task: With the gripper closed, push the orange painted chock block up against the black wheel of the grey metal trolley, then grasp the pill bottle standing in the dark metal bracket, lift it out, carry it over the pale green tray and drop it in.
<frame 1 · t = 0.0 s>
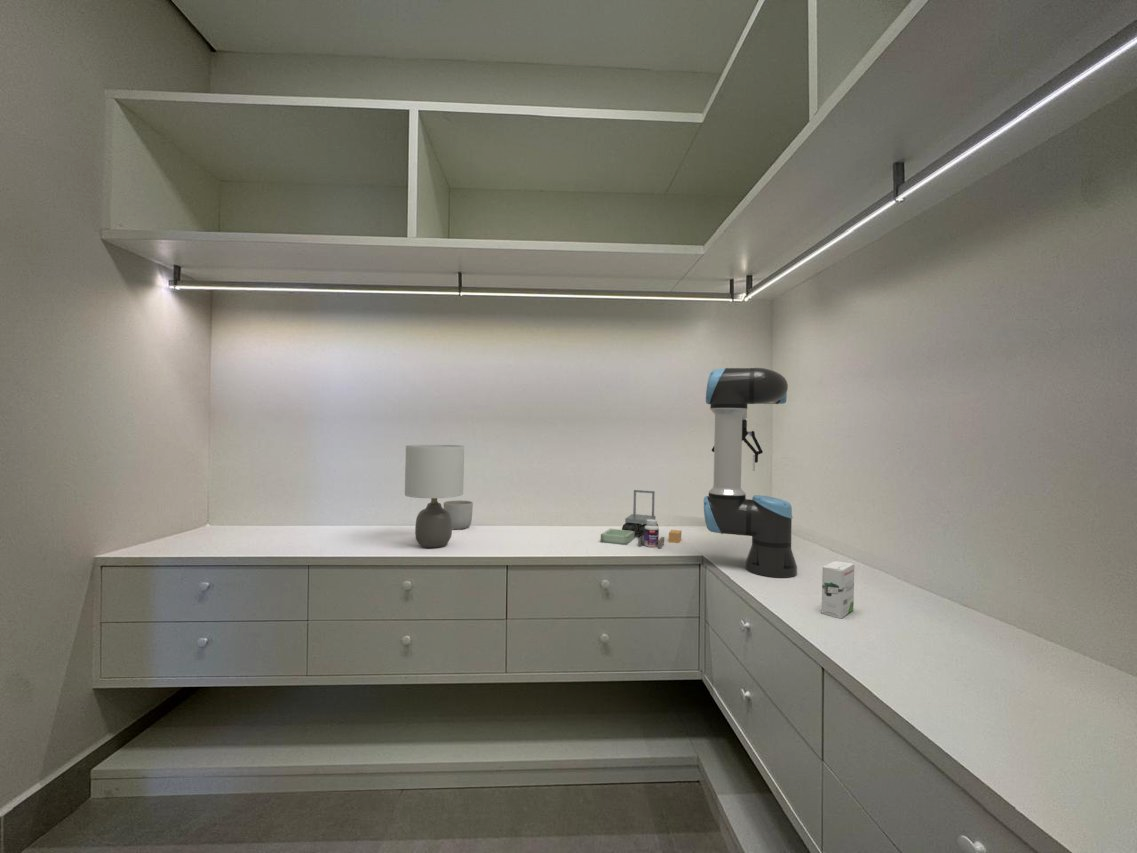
hand: (736, 469, 209), 28 cm above the cabinet, fingers open, 13 cm apart
tray: (617, 540, 198), on the cabinet
ink box: (837, 613, 123), on the cabinet
chock: (675, 541, 199), on the cabinet
lamp: (433, 546, 183), on the cabinet
trolley: (640, 535, 208), on the cabinet
pill bottle: (651, 546, 190), on the cabinet
pin bracket: (651, 545, 190), on the cabinet
planter: (457, 528, 216), on the cabinet
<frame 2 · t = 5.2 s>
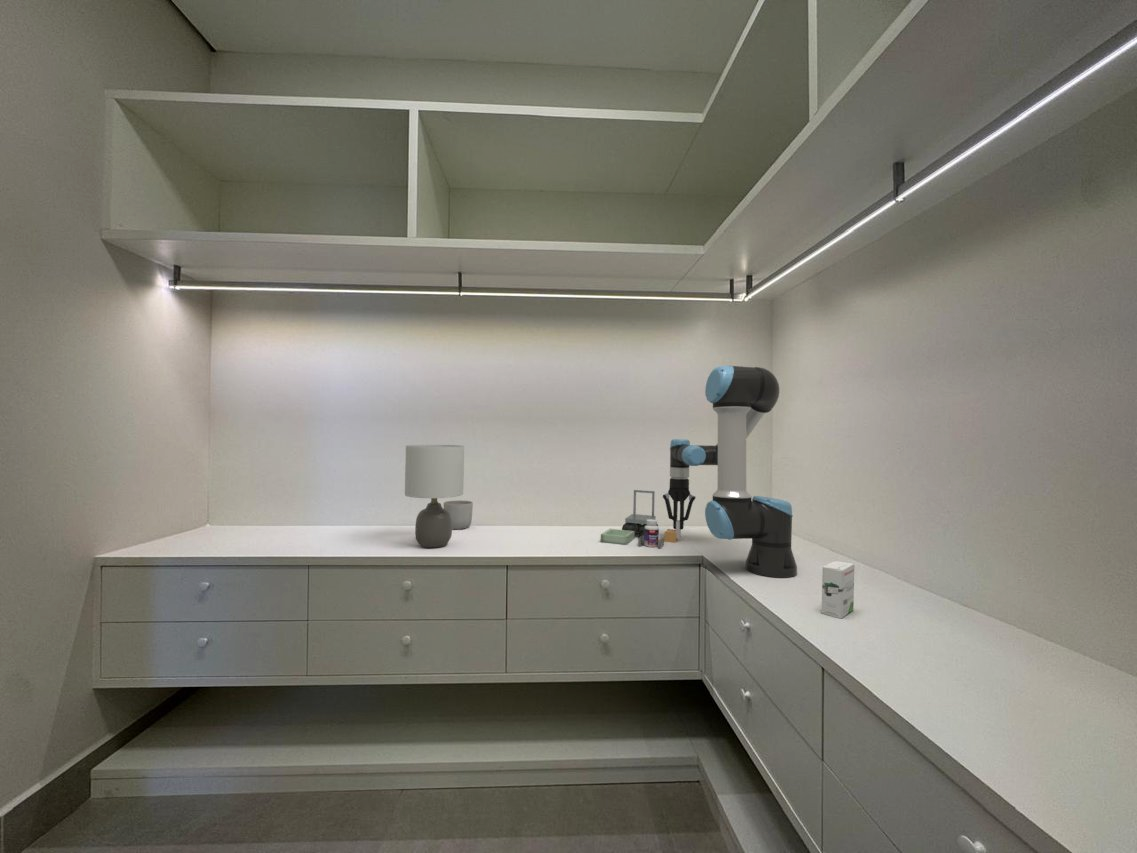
hand: (678, 537, 198), 2 cm above the cabinet, fingers closed
chock: (671, 540, 199), on the cabinet, touching gripper
everything else where it was.
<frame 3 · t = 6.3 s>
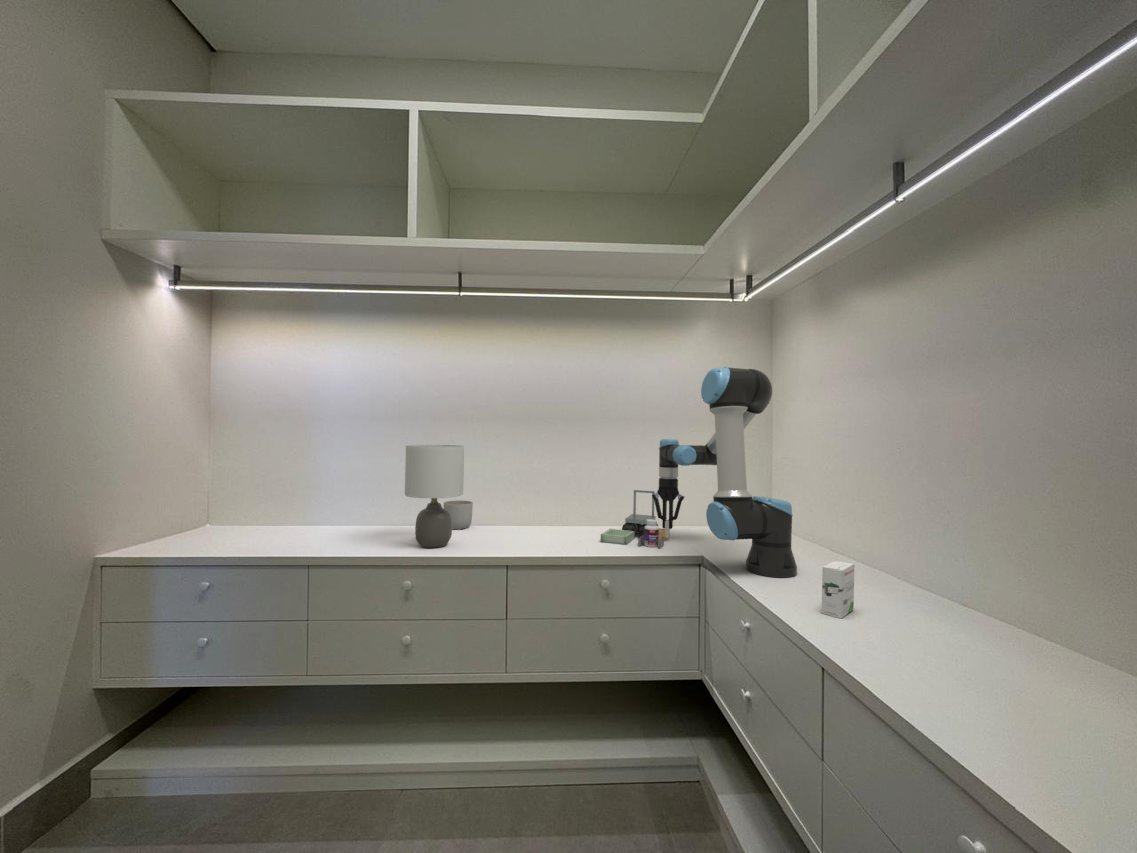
hand: (667, 536, 200), 1 cm above the cabinet, fingers closed
chock: (660, 539, 201), on the cabinet
everything else where it was.
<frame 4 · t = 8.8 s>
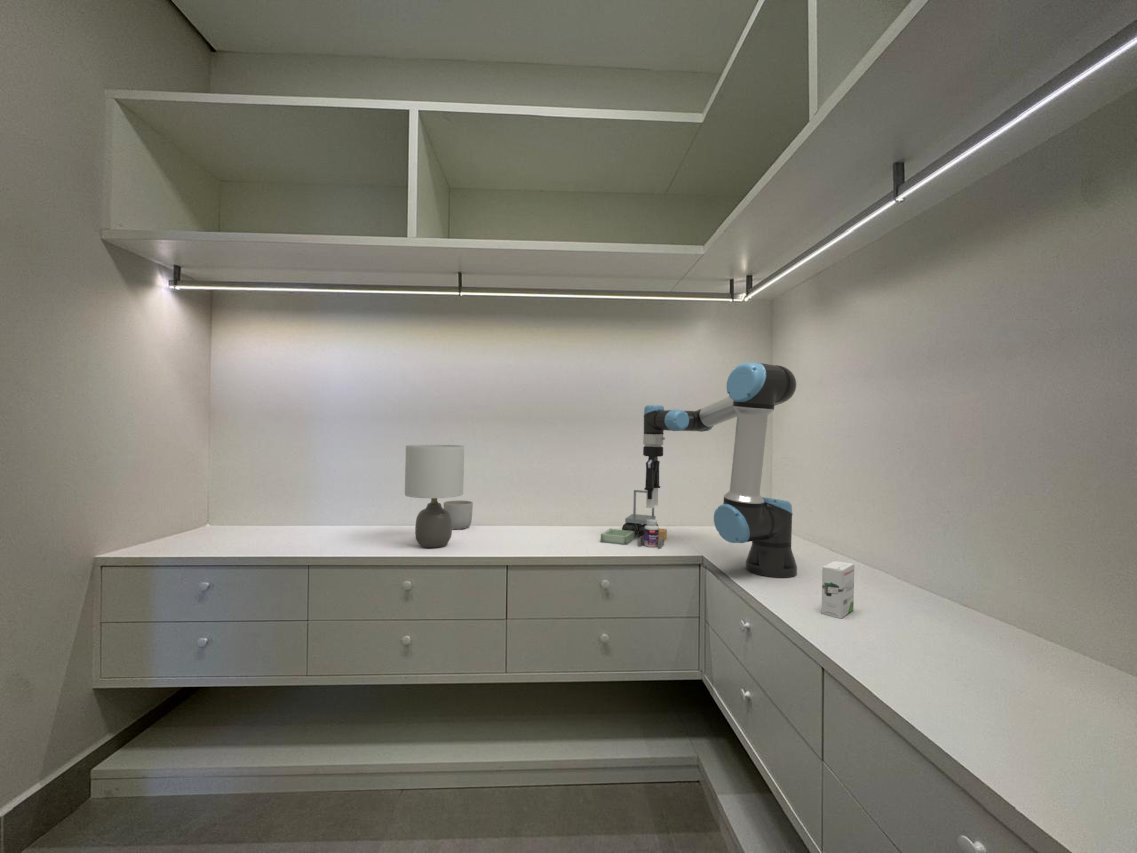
hand: (652, 506, 190), 15 cm above the cabinet, fingers open, 7 cm apart
nothing on the cabinet moved.
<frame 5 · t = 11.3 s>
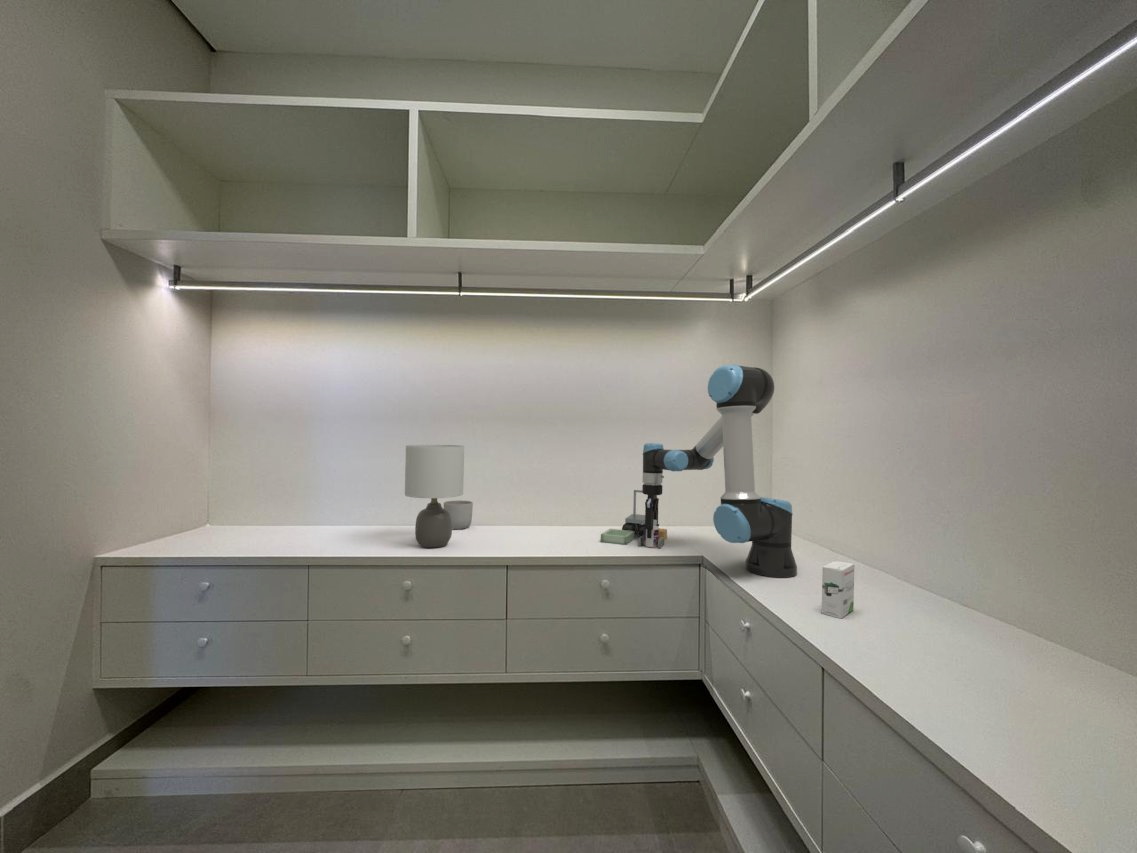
hand: (651, 544, 190), 0 cm above the cabinet, fingers closed on pill bottle, 5 cm apart
pill bottle: (651, 546, 190), on the cabinet, touching gripper
everything else where it was.
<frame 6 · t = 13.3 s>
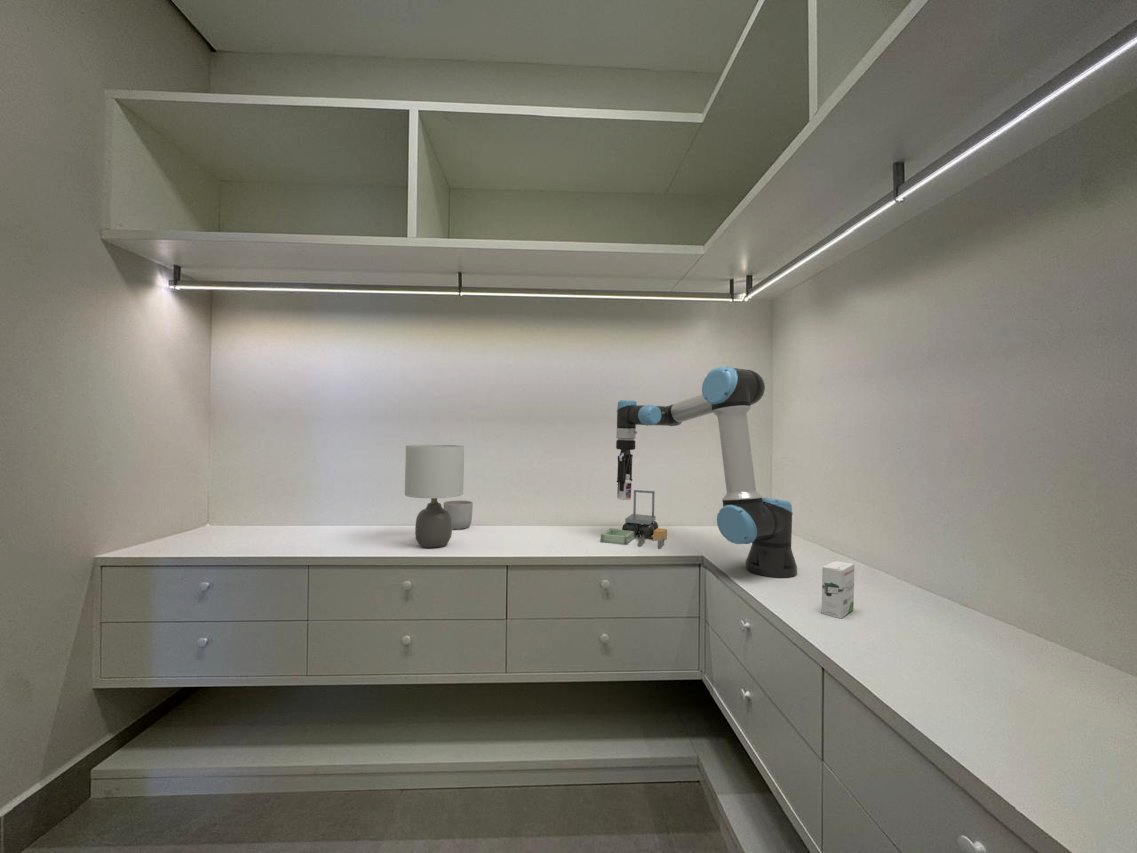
hand: (624, 498, 197), 17 cm above the cabinet, fingers closed on pill bottle, 5 cm apart
pill bottle: (624, 499, 197), point 16 cm above the cabinet, touching gripper
everything else where it was.
when the fingers open (4 cm above the cabinet, at t = 15.6 s): pill bottle drops 3 cm, resting on tray.
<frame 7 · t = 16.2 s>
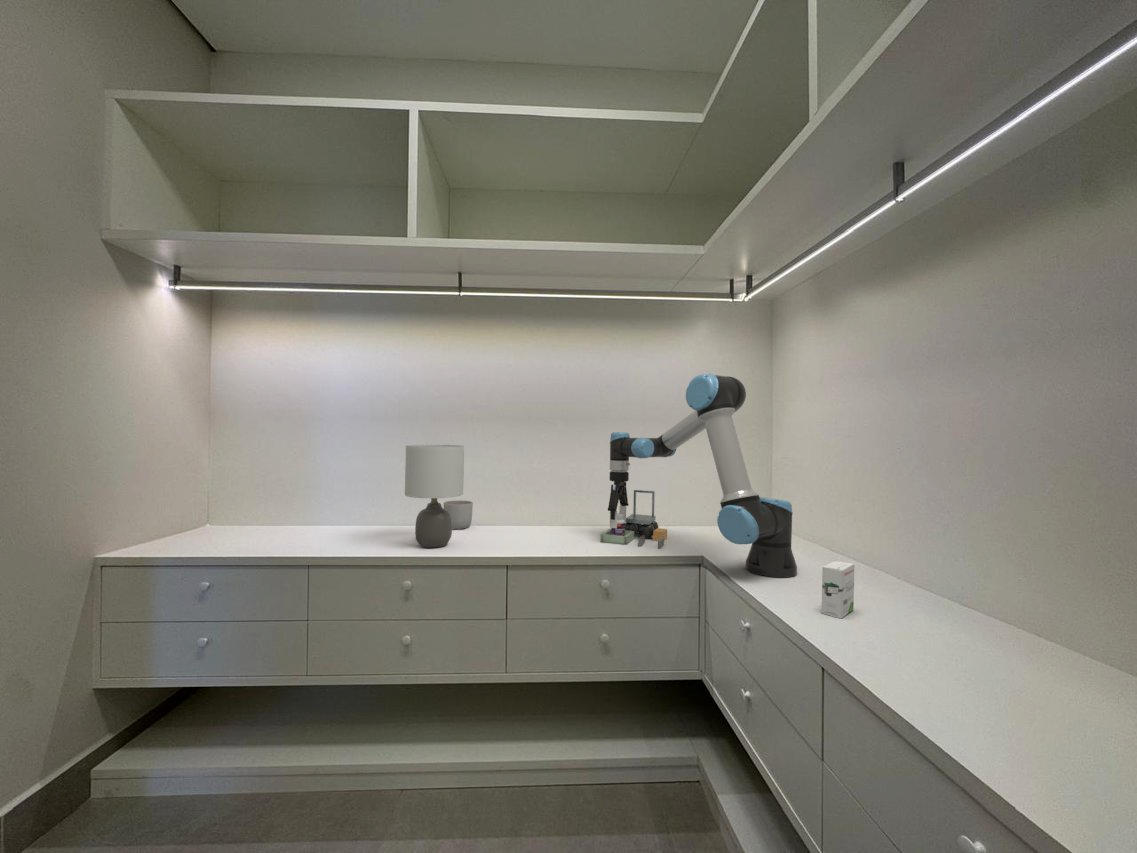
hand: (618, 524, 198), 6 cm above the cabinet, fingers open, 13 cm apart
pill bottle: (617, 539, 198), resting on tray
everything else where it was.
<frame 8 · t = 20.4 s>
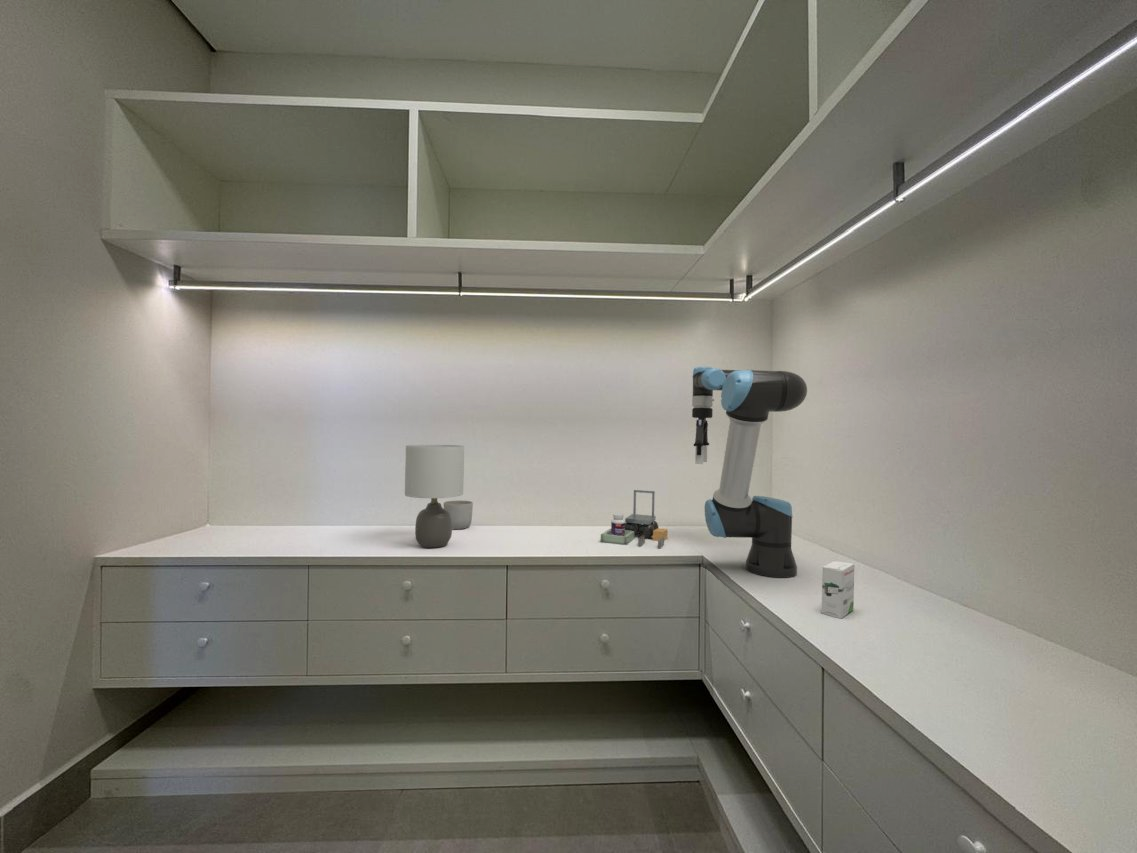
hand: (701, 463, 191), 32 cm above the cabinet, fingers open, 13 cm apart
nothing on the cabinet moved.
at the end: chock 0.6 cm from the target spot, on the cabinet; pill bottle inside the target area on the tray (0.2 cm from its centre), point 0.4 cm above the tray's base; the gripper is holding nothing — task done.
